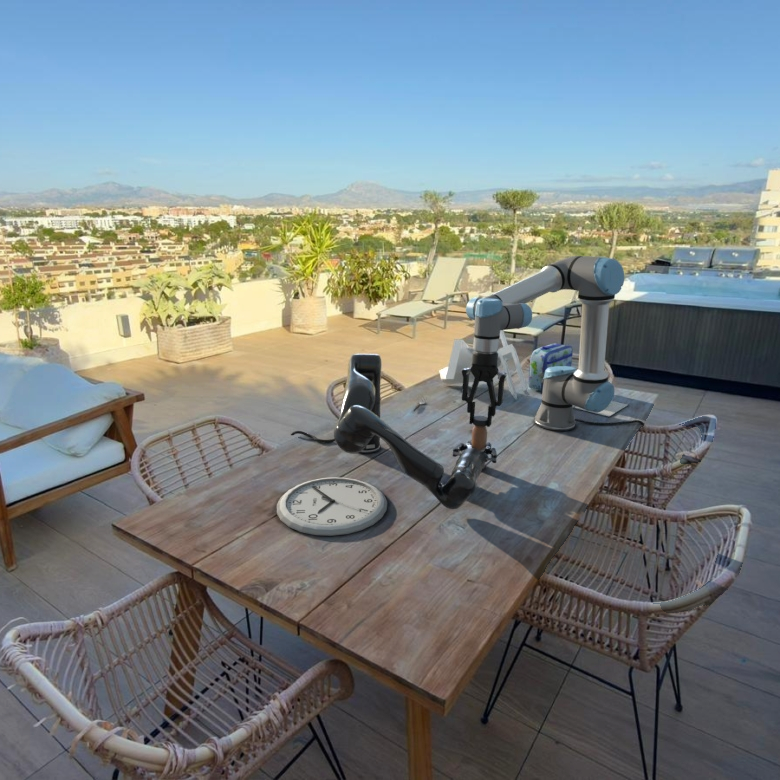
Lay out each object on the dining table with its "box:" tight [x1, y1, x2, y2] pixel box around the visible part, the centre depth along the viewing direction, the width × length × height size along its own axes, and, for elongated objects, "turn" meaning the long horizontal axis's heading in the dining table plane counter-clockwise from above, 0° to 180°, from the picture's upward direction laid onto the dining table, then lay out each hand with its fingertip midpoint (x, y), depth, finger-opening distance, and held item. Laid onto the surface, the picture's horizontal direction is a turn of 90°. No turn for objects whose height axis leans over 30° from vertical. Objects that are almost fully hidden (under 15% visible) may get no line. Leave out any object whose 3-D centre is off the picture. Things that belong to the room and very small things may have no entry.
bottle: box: [471, 425, 488, 470], centre depth 165 cm, size 5×5×16 cm
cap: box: [472, 415, 488, 427], centre depth 163 cm, size 5×5×2 cm
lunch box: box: [528, 343, 574, 392], centre depth 249 cm, size 26×11×21 cm, turn 134°
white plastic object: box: [438, 330, 531, 400], centre depth 245 cm, size 37×45×31 cm
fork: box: [413, 396, 428, 412], centre depth 222 cm, size 3×16×2 cm, turn 160°
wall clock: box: [276, 476, 388, 537], centre depth 142 cm, size 30×2×30 cm
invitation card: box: [573, 400, 629, 418], centre depth 226 cm, size 21×1×15 cm
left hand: (480, 443), depth 168 cm, fingers closed on bottle, 4 cm apart
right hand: (480, 423), depth 163 cm, fingers open, 5 cm apart
